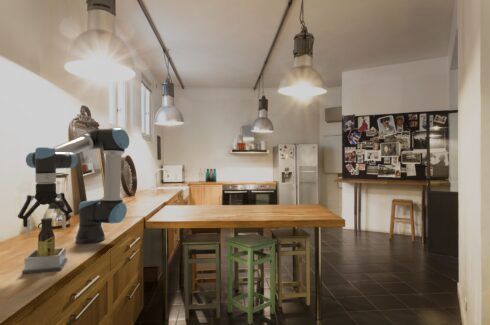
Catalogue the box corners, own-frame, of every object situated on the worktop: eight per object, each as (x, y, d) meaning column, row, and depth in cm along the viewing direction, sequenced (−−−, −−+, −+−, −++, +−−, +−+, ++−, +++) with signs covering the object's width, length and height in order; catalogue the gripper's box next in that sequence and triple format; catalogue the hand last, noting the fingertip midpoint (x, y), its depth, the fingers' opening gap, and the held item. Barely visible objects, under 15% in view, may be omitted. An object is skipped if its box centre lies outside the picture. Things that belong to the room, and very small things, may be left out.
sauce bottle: (50, 266, 135) (49, 219, 135) (34, 266, 135) (34, 220, 134) (57, 261, 142) (57, 217, 141) (42, 261, 141) (42, 217, 141)
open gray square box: (32, 263, 142) (32, 249, 142) (67, 260, 147) (67, 247, 147) (22, 274, 129) (22, 259, 129) (61, 270, 134) (61, 255, 134)
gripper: (12, 185, 126) (13, 238, 127) (79, 181, 144) (80, 228, 144) (8, 184, 132) (9, 235, 132) (74, 180, 149) (75, 225, 150)
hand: (46, 231), depth 138 cm, fingers open, 13 cm apart
